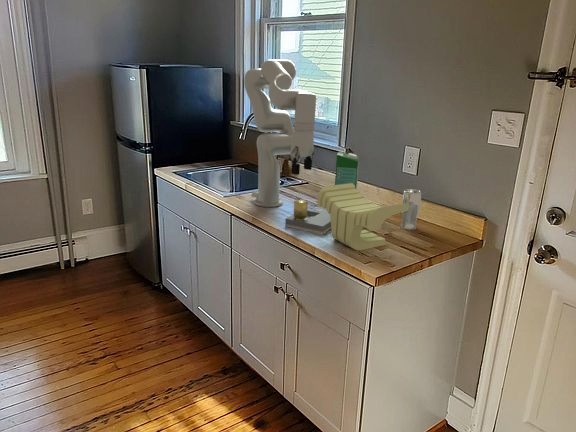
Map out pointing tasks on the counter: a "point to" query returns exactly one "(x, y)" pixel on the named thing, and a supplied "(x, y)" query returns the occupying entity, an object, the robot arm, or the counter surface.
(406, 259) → the counter surface
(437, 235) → the counter surface
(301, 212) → the peg
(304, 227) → the board
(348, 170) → the milk carton
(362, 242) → the slatted curved stool
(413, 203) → the beer glass
